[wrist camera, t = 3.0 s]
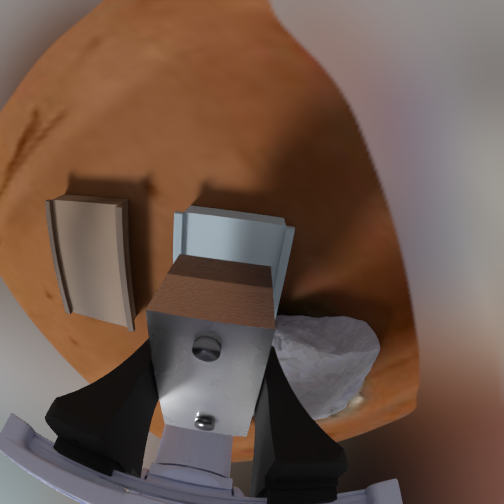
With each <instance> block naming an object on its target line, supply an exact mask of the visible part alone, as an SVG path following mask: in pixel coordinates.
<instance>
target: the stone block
mask: <svg viewBox="0 0 504 504" xmlns="http://www.w3.org/2000/svg"><path fill="white" fill-rule="evenodd" d="M379 345H380V344H379V340H378V338H377V335H376V334H375V332H374V331H373V330H372V329H371V327H370V326H369V325H368V324H367V322H365V321H362V320H356V319H353V318H351V317H345V316H341V317H328V316H327V317H322V318H314V317H309V316H302V315H299V316H286V315H277V316H276V318H275V333H274V337H273V341H272V345H271V346H274V348H275V350H276V354H277V357H278V360H279V362H280V365H281V367H282V369H283V372H284V374H285V376H286V378H287V380H288V382H289V384H290V386H291V388H292V390H293V391H294V393H295V395H296V396H297V398H298V400H299V401H300V403H301V404H302V406H303V407H304V408H305V410H306V411H307V412H308V414H309V415H310V416H311V417H312V419H313V420H316V419H319V418H326V417H328V416H330V415H331V414H336V413H337V412H339V411H340V410H342V409H344V408H345V407H346V406H347V403H348V401H349V400H350V399H351V398H353V397H354V396H355V394H356V393H357V392H358V390H359V389H360V387H361V386H362V383H363V381H364V377H365V376H366V375H367V374H368V373H369V372H370V369H371V367H372V365H373V362H374V361H375V360H376V358H377V355H378V353H379V351H380V346H379ZM253 416H255V412H253Z"/></svg>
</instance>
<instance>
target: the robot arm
mask: <svg viewBox="0 0 504 504" xmlns="http://www.w3.org/2000/svg"><path fill="white" fill-rule="evenodd" d="M158 399H159V395H158V390H157V385H156V379H155V374H154V368H153V362H152V355H151V348H150V341H149V339H148V340H147V341H146V342H145V343H144V344H143V345H142V346H141V347H140V348H139V349H137V350H136V351H135V352H134V353H133V354H132V355H131V356H130V357H129V358H128V359H126V360H125V361H124V362H123V363H122V364H120V365H119V366H118V367H117V368H115V369H114V370H113V371H111V372H110V373H108V374H107V375H105V376H104V377H102V378H100V379H99V380H97V381H95V382H94V383H92V384H90V385H88V386H86V387H84V388H81V389H79V390H77V391H75V392H72V393H69V394H66V395H64V396H61V397H57V398H56V399H55V400H54V402H53V403H52V405H51V407H50V409H49V410H48V412H47V414H46V416H45V419H46V422H47V424H48V425H49V426H50V428H51V429H52V430H53V431H54V432H55V433H56V435H58V438H57V440H56V442H55V443H54V442H52V441H50V440H48V439H47V438H45V437H43V436H41V435H40V434H38V433H36V432H35V431H34V429H33V428H32V427H31V426H30V425H29V424H28V423H26V422H25V421H23V420H22V419H20V418H19V417H17V416H16V415H14V414H13V413H12V414H11V415H10V417H9V419H8V420H7V422H6V424H5V426H4V427H3V429H2V431H1V433H0V451H1V452H2V453H3V454H4V455H6V456H7V457H8V458H9V459H11V460H12V461H13V462H14V463H16V464H17V465H18V466H19V467H21V468H22V469H24V470H25V471H27V472H28V473H30V474H31V475H33V476H34V477H36V478H37V479H39V480H40V481H42V482H43V483H45V484H47V485H48V486H50V487H52V488H53V489H55V490H57V491H59V492H60V493H62V494H64V495H66V496H68V497H70V498H72V499H74V500H75V501H77V502H80V503H82V504H403V503H402V498H401V494H400V489H399V485H398V481H397V479H392V480H388V481H384V482H379V483H376V484H373V485H371V486H369V487H368V488H366V489H364V490H358V491H353V492H346V493H340V494H337V491H336V486H337V485H338V477H339V476H341V475H342V474H343V473H344V472H346V471H347V470H348V467H349V465H348V460H347V456H346V454H345V451H344V449H343V448H342V447H341V446H340V445H339V444H337V443H336V442H335V441H334V440H333V439H332V438H330V437H329V436H328V435H327V434H326V433H325V432H324V431H323V430H322V429H321V428H320V426H319V425H318V424H317V423H316V422H315V421H314V420H313V419H312V417H311V416H310V415H309V414H308V412H307V411H306V410H305V408H304V407H303V406H302V404H301V403H300V401H299V400H298V398H297V396H296V395H295V393H294V391H293V390H292V388H291V386H290V384H289V382H288V380H287V378H286V376H285V374H284V372H283V369H282V367H281V365H280V362H279V360H278V357H277V354H276V350H275V348H274V346H271V349H270V353H269V357H268V361H267V365H266V368H265V372H264V376H263V380H262V384H261V387H260V391H259V395H258V398H257V402H256V405H255V409H254V412H255V443H254V457H253V469H252V479H251V489H250V497H244V494H243V493H242V492H241V491H240V489H239V488H238V487H235V486H232V481H233V479H230V478H229V475H230V464H231V453H232V442H233V436H234V435H225V434H218V433H210V432H204V431H198V430H192V429H187V428H182V427H177V426H172V425H167V424H165V427H164V431H163V434H162V438H161V442H160V446H159V449H158V453H157V457H156V461H155V463H151V466H150V469H146V468H143V469H142V465H143V457H144V452H145V447H146V441H147V436H148V432H149V428H150V424H151V420H152V416H153V413H154V410H155V407H156V404H157V402H158ZM117 485H118V486H117ZM120 486H121V487H120ZM122 487H123V488H122ZM124 488H126V489H129V492H126V490H125V489H124Z"/></svg>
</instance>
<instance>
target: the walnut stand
mask: <svg viewBox="0 0 504 504" xmlns="http://www.w3.org/2000/svg"><path fill="white" fill-rule="evenodd" d="M45 207H46V217H47V225H48V233H49V239H50V246H51V251H52V257H53V262H54V267H55V272H56V276H57V281H58V285H59V289H60V293H61V297H62V301H63V304H64V308H65V311H66V313H67V314H71V313H72V312H75V313H78V314H81V315H85V316H88V317H92V318H95V319H99V320H102V321H106V322H110V323H114V324H118V325H122V326H126V327H128V331H132V332H134V330H135V323H134V320H135V318H136V310H135V302H134V294H133V285H132V274H131V262H130V247H129V225H128V199H120V198H108V197H94V196H80V195H62V196H60V197H58V198H55V199H53V200H46V201H45Z"/></svg>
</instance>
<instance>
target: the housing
mask: <svg viewBox="0 0 504 504" xmlns="http://www.w3.org/2000/svg"><path fill="white" fill-rule="evenodd" d="M146 317H147V326H148V334H149V341H150V348H151V355H152V362H153V368H154V374H155V379H156V385H157V390H158V395H159V400H160V405H161V409H162V414H163V418H164V422H165V424H167V425H172V426H177V427H182V428H187V429H192V430H198V431H204V432H210V433H218V434H225V435H234V436H244V437H246V436H247V433H248V430H249V426H250V423H251V419H252V416H253V412H254V409H255V405H256V402H257V398H258V395H259V391H260V387H261V384H262V380H263V376H264V372H265V368H266V365H267V361H268V357H269V353H270V349H271V345H272V341H273V337H274V333H275V314H274V300H273V286H272V273H271V266H265V265H257V264H250V263H242V262H235V261H228V260H220V259H213V258H206V257H198V256H191V255H184V254H179V256H178V257H177V259H176V260H175V262H174V264H173V265H172V267H171V268H170V270H169V272H168V273H167V275H166V276H165V278H164V280H163V281H162V283H161V285H160V286H159V288H158V290H157V291H156V293H155V295H154V296H153V298H152V300H151V301H150V303H149V305H148V306H147V308H146Z"/></svg>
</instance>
